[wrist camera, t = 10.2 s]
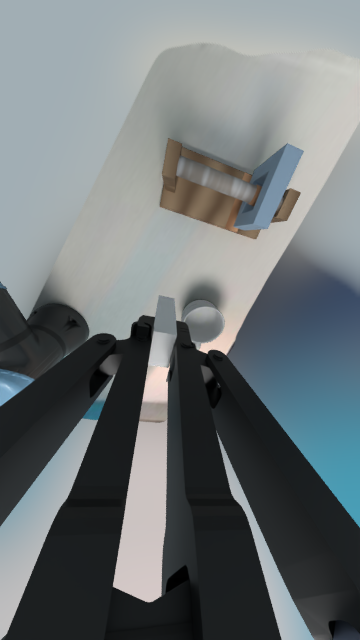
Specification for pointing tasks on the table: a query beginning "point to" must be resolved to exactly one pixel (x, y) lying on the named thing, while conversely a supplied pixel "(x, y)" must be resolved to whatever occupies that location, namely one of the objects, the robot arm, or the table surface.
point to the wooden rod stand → (212, 190)
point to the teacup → (203, 321)
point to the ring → (269, 188)
